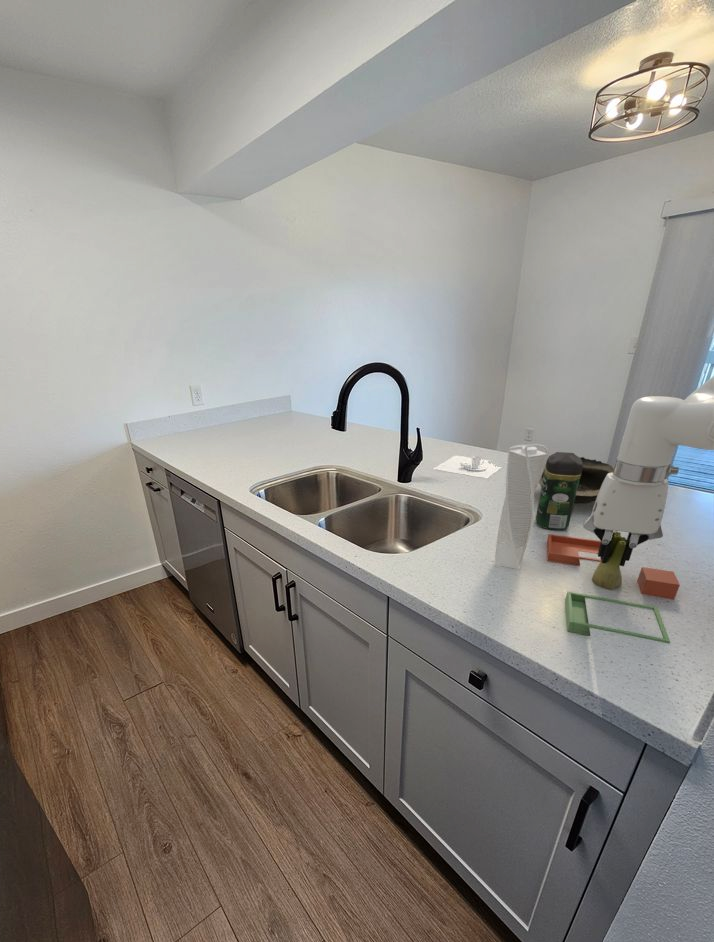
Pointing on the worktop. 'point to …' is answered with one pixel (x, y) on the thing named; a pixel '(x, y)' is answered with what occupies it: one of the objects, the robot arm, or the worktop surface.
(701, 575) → the worktop surface
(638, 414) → the robot arm
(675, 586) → the terracotta block
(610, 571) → the fennel bulb
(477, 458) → the teacup and saucer
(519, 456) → the skyscraper
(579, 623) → the green rectangular frame
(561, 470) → the coffee jar
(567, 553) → the terracotta tray
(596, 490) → the stone bowl
